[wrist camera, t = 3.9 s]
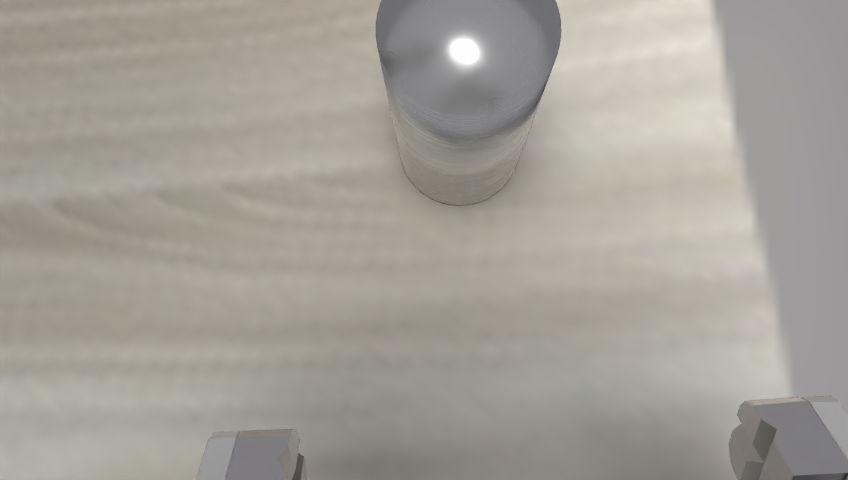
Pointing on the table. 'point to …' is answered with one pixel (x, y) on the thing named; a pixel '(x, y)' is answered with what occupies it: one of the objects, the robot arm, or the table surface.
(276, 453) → the robot arm
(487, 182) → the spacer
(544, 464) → the table surface
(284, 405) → the table surface
